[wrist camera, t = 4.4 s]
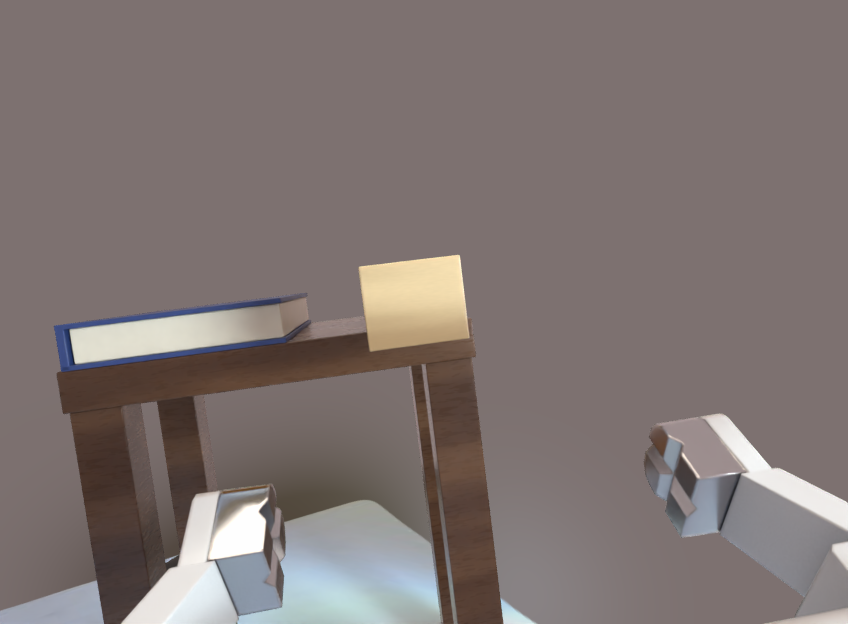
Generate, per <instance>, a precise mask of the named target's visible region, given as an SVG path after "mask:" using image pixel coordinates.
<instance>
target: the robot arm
mask: <svg viewBox="0 0 848 624" xmlns="http://www.w3.org/2000/svg"><path fill="white" fill-rule="evenodd" d="M649 438H650V439H651V441H652V442H653V445H652V446H651V447H650V448H649V449H648V450H647V451H646V453H645V459H644V467H645V474H646V477H647V480H648V482H649V485H650V486H651V488H652V490H653V492H654V494H656V495H657V496H659V497H660V498H662V499H663V500H665V501H667V505H666V510H665V512H666V514H667V515H668V517H669V518H670V520H671V522H672V523H673V525H674V527H675V528H676V530H677V531H678V533H679V535H680V537H681V538H682V537H689V536H696V535H703V534H710V533H716V532H720V535H721V536H723V537H724V538H725V539H727V540H728V541H730V542H731V543H732V544H734V545H735V546H737V547H738V548H739V549H740V550H742V551H743V552H744V553H746V554H747V555H748V556H750V557H751V558H752V559H754V560H755V561H757V562H758V563H759V564H761V565H762V566H763V567H765V568H766V569H767V570H769V571H770V572H771V573H773V574H774V575H775V576H777V577H778V578H779V579H781V580H782V581H783V582H785V583H786V584H788V585H789V586H790V587H792V588H793V589H794V590H796V591H797V592H799V593H800V594H801V595H802V596H804V599H803V601H802V603H801V605H800V606H799V608H798V610H797V612H796V614H795V617H794V618H791V619H785V620H780V621H775V622H770V623H765V624H848V502H845V501H844V500H842V499H840V498H838V497H836V496H833V495H832V494H830V493H828V492H826V491H823V490H822V489H819V488H818V487H816V486H814V485H812V484H810V483H808V482H806V481H804V480H802V479H800V478H798V477H796V476H794V475H792V474H790V473H788V472H786V471H784V470H782V469H780V468H771V467H770V466H769V465H768V464H767V462H766V461H765V460H764V459H763V458H762V457H761V456H760V455H759V453H758V452H757V451H756V450H755V448H754V447H753V446H752V445H751V444H750V443H749V442H748V440H747V439H746V438H745V437H744V436H743V434H742V433H741V432H740V431H739V430H738V429H737V428H736V426H735V425H734V424H733V423H732V422H731V420H730V419H729V418H728V417H727V416H725V415H723V414H721V413H720V414H714V415H708V416H702V417H698V418H697V417H694V418H688V419H682V420H676V421H670V422H664V423H658V424H654V425H653V427H652V428H651V430H650V435H649ZM276 496H277V495H276V492H275V489H274V487H273V484H266V485H259V486H251V487H243V488H235V489H227V490H222V491H214V492H207V493H200V494H196V495H195V497H194V499H193V500H192V503H191V508H190V512H189V516H188V521H187V525H186V530H185V534H184V539H183V543H182V547H181V552H180V556H179V561H178V565H177V567H173V568H169V569H168V570H167V572H166V573H165V574H164V575H163V576H162V577H161V578H160V580H159V581H158V582H157V583H156V584H155V585H154V586H153V587H152V589H151V590H150V591H149V592H148V593H147V594H146V595H145V597H144V598H143V599H142V600H141V601H140V602H139V603H138V605H137V606H136V607H135V608H134V609H133V610H132V611H131V613H130V614H129V615H128V616H127V617H126V618H125V619H124V621H123V622H122V623H121V624H236V623H237V621H238V620H239V618H238V616H241V615H246V614H251V613H256V612H261V611H266V610H271V609H276V608H281V607H282V600H283V584H284V575H283V571H282V568H281V565H280V562H281V561H282V559H283V558H284V557H285V544H286V541H285V526H284V521H283V516H282V512H281V509H279V508H277V507H276Z"/></svg>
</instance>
